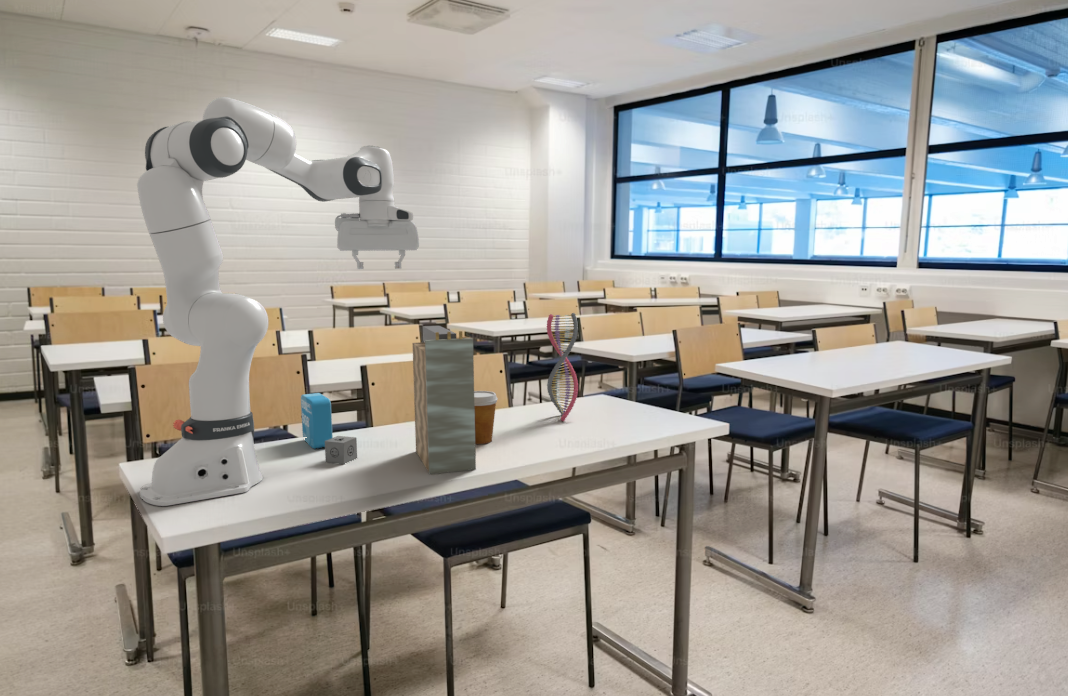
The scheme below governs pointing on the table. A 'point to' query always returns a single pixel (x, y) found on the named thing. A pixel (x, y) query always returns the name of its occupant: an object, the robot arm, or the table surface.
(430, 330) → the grey rectangular bar
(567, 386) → the dna model
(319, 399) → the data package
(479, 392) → the disposable coffee cup
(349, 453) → the dice cube
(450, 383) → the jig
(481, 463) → the table surface
